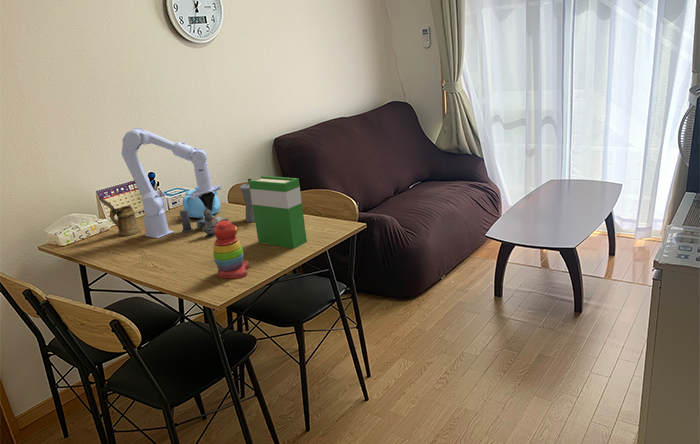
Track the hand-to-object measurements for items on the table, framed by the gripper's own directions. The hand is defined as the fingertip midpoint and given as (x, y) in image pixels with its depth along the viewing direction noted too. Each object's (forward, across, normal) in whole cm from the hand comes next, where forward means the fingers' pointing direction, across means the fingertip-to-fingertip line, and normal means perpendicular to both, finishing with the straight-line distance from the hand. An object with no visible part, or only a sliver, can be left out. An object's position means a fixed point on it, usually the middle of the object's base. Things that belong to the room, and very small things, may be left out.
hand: (209, 210), depth 217 cm
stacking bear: (+8, -30, -46) cm, 56 cm away
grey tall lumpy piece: (+8, -8, -8) cm, 14 cm away
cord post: (+7, -8, +7) cm, 13 cm away
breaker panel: (+7, 0, 0) cm, 7 cm away
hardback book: (+8, -2, -42) cm, 43 cm away
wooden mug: (+8, -21, +32) cm, 40 cm away
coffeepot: (+8, +15, -11) cm, 20 cm away
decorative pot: (+8, +11, +20) cm, 24 cm away
